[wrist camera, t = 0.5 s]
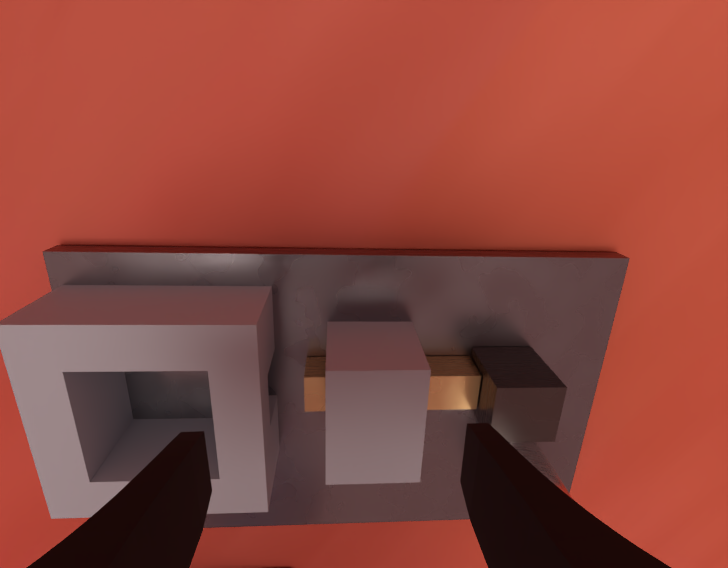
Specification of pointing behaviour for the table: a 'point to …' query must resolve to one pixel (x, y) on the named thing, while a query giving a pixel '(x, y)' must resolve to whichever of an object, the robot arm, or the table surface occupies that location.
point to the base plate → (377, 304)
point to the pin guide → (374, 403)
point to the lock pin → (481, 390)
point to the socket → (110, 393)
